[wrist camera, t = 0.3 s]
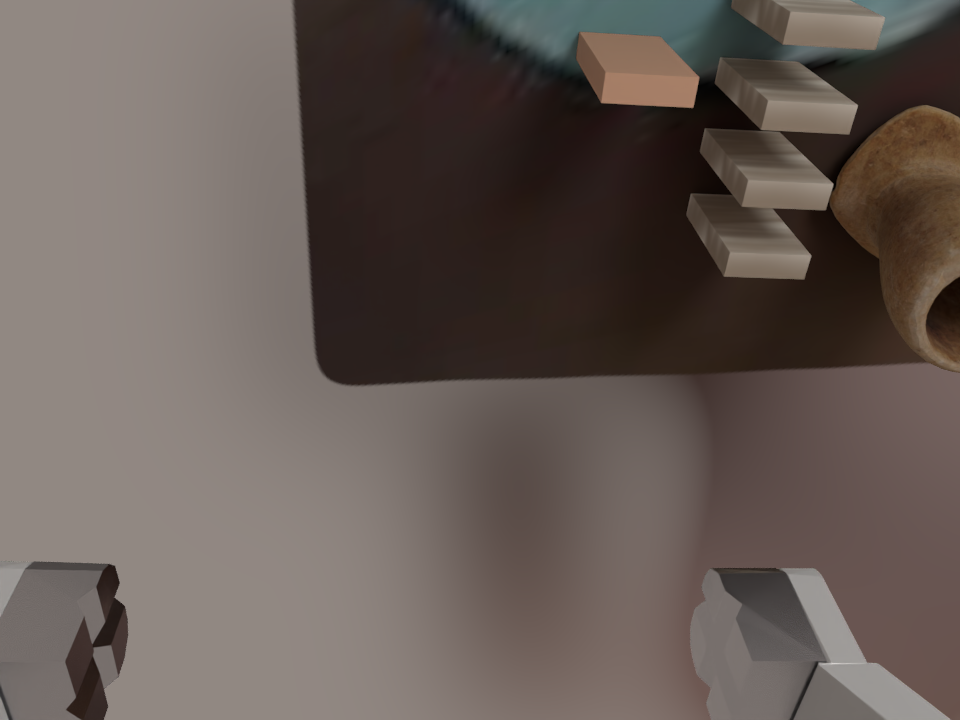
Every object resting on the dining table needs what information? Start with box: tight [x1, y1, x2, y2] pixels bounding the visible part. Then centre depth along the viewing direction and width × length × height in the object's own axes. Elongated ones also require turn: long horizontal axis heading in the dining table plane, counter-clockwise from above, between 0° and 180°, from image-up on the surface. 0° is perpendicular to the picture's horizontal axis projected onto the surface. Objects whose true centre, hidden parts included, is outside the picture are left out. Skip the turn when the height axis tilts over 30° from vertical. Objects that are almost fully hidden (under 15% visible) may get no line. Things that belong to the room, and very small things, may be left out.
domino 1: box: [576, 32, 699, 108], centre depth 49 cm, size 2×5×9 cm, turn 86°
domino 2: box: [731, 0, 885, 50], centre depth 48 cm, size 2×5×9 cm, turn 86°
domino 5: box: [686, 193, 811, 279], centre depth 56 cm, size 2×5×9 cm, turn 86°
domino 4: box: [700, 128, 834, 210], centre depth 53 cm, size 2×5×9 cm, turn 86°
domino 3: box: [715, 57, 858, 134], centre depth 51 cm, size 2×5×9 cm, turn 86°
